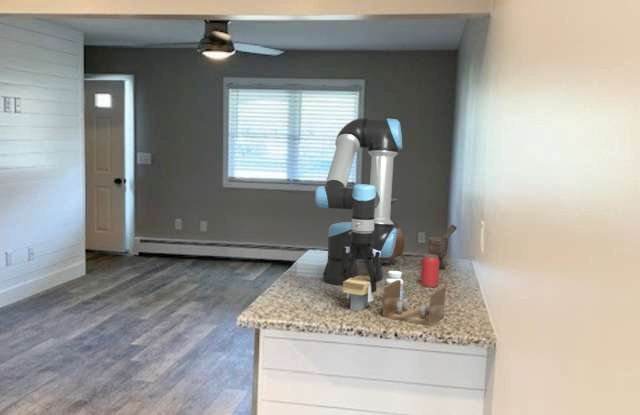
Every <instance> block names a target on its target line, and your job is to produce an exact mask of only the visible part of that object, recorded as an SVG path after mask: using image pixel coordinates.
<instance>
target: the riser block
mask: <svg viewBox="0 0 640 415" xmlns="http://www.w3.org/2000/svg"><path fill="white" fill-rule="evenodd" d="M369 306H370V302H368V293H366V294H364V295H356V294H351V298H350V309H349V310H351V311H355V312H359V311H362V310H363V309H366V308H367V307H369Z"/></svg>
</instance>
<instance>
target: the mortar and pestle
mask: <svg viewBox="0 0 640 415" xmlns="http://www.w3.org/2000/svg"><path fill="white" fill-rule="evenodd" d="M457 228H458V227H457V226H456V225H454V224H451V225H450V226H449V228H448V229H447V230H446V232H445V234H444V235H443V236H442V237H440V236H439V237H437V236H436V237H435V236H431V237H428V254H433V255H437V256H438V258H439V269H445V268H446V266H445V263H444V262H443V259H444V258H446V255H447V254H448V253H447V252H448V246H449V238H450V236H451V235H453V233H455V231H456V230H457Z"/></svg>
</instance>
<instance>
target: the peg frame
mask: <svg viewBox="0 0 640 415" xmlns="http://www.w3.org/2000/svg"><path fill="white" fill-rule="evenodd" d="M385 285H386V284H385ZM385 285H384V286H383V302H382V304H383V306H382V307H383V308H382V318H386V319H392V320H397V321H401V322H402V321H403V322H408V323H412V324H419V325H424V326H427V327H429V326H430V327H433V326H435V325H436V324H437V323H438V322H439V321H441V320H442V319H444V318H445V317H444V316H445V302H446V301H445V300H446V286H439V287H438V288H437V289H435V290H434V291H432V292H430V294H429V301H425V303H424V304H420V310H419V309H415V308H414V309H413V308H409V307H408V302H409V301H408V298H407V297H403V298H402V301H400V286H401V280H396V281H394V282H392V283H390V284H388V285H386V286H385Z"/></svg>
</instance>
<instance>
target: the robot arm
mask: <svg viewBox="0 0 640 415" xmlns="http://www.w3.org/2000/svg"><path fill="white" fill-rule="evenodd" d="M401 127H402V125H401V122H400V121H399V120H398V119H397V118H396V119H395V118H388V117H386V118H385V117H384V118H380V117H379V118H372V117H371V118H369V117H368V118H366V117H360V118H359V117H358V118H356V119H354V120H351V121H350V122H348V123H346V125H344V126H343V127H342V128H341V130H340V131H339V132H338V134H337V135H336V138H335V144H334V145H335V151H334V154H333V158H332V159H331V160H332V161H331V164H330V168H329V171H328V173H327V177H326V180H325V184H324V185H321V186H320V185H319V186H318V187H316V189H315V194H314V201H315V205H316V207H318V208H322V209H335V210H336V209H340V210H351V221H344V222H337V223H333V224H331V225H330V226H329V228H328V235H327V241H328V242H327V262H326V265H325V267H324V270H323V273H322V281H323V282H324V283H327V284H332V285H342V286H343V282H344V281H346V280H349V279H351V278H353V277H356V276H358V275H361V273H360V268H359V265H358V261H359V260H361V261H362V260H363V261H364V264H365V266H366V269H367V273H368V277H370V280H371V282H369V284H368V302H369V303H372V302H373V301H374V294H375V292H376V291H377V288H376V283H377V282H380V281H382V280H383V271H382V264H381V258H389V257H391V256H392V254H393V251H394V248H395V243H396V238H397V229H396V228H393V227H394V223H393V222H394V221H393V220H392V219H391V220H392V221H393V222H392V221H391V220H390V218H391V211H392V210H391V207H392V204H391V198H392V192H393V190H392V189H393V175H394V160H395V159H394V158H395V157H396V156H397V155H398V153H399V150H402V149H403V136H402V128H401ZM360 148H363V149H367V153H368V154H369V155H370V157H371V162H370V163H371V165H370V179H369V180H370V181H369V184H362V183H359V184H355V185H353V187H347V186H348V182H349V178H350V175H351V170H352V166H353V163H354V160H355V156H356V153H357V152H358V151H359V150H360ZM371 257H375V260H374V264H373V259H372V258H371ZM346 299H351V294H350V293H346Z"/></svg>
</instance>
